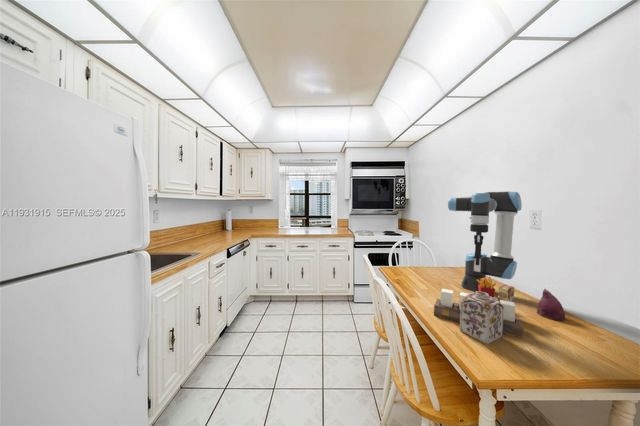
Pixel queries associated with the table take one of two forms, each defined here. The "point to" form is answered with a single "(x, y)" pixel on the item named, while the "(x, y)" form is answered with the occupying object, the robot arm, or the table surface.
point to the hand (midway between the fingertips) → (477, 270)
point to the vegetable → (550, 307)
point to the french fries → (486, 286)
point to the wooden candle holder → (454, 314)
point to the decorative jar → (481, 317)
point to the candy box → (506, 293)
